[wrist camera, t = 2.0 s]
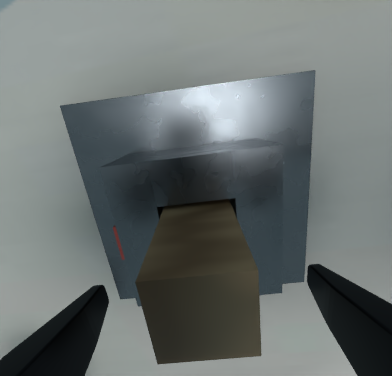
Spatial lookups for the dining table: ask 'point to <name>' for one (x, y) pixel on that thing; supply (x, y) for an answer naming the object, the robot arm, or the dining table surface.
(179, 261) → the post
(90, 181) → the stand
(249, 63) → the dining table surface
